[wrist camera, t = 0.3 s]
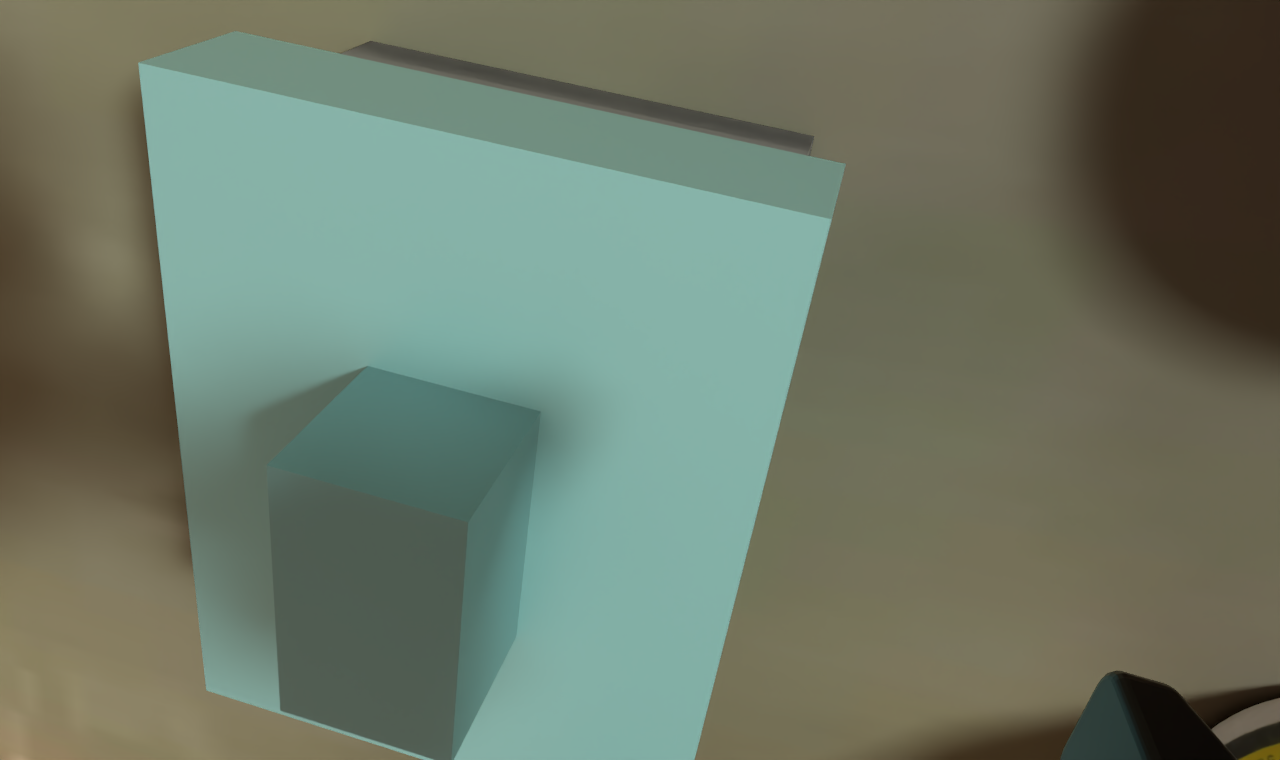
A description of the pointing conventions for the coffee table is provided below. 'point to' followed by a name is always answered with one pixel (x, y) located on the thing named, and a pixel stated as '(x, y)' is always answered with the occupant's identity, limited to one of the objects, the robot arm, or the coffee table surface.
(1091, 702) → the robot arm
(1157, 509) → the coffee table surface
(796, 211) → the lid
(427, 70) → the storage box
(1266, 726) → the pill bottle
